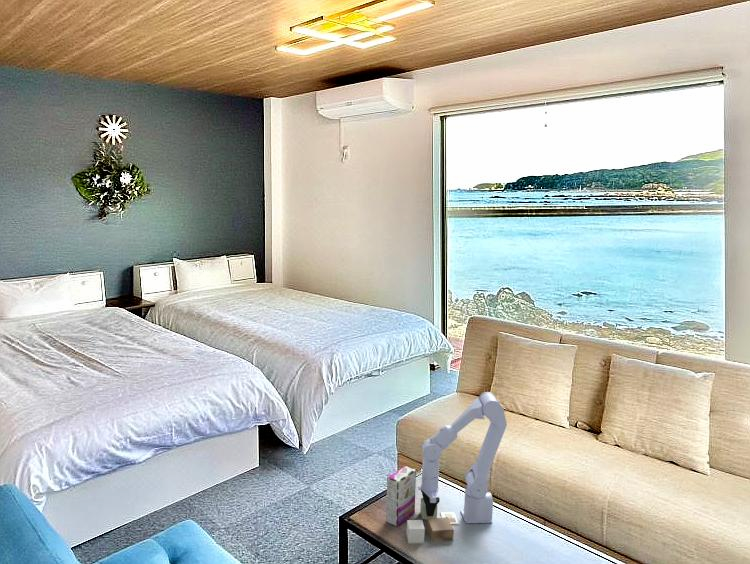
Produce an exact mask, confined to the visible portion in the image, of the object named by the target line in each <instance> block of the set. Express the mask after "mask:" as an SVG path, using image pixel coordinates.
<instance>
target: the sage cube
mask: <svg viewBox="0 0 750 564" xmlns="http://www.w3.org/2000/svg"><path fill="white" fill-rule="evenodd" d="M419 510H420V511H419V512H420V516H421V520H427V519H429V518H438V505H437V506H436V508H435V512H434V515H433V516H427V514H426V506H425V502H424V500H423V497H421V498H420V508H419Z"/></svg>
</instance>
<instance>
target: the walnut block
mask: <svg viewBox="0 0 750 564" xmlns="http://www.w3.org/2000/svg"><path fill="white" fill-rule="evenodd" d="M426 521H427V522H426V530H427V532H428V535H429V537H430V540H431V542H446V541H454V535H455V533H454V532H455V531H454V530H455V529H454V528H453V526H452V525H451V523H450V521H449V519H448V517H447V518H442V517H437V518H429V519H426Z"/></svg>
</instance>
